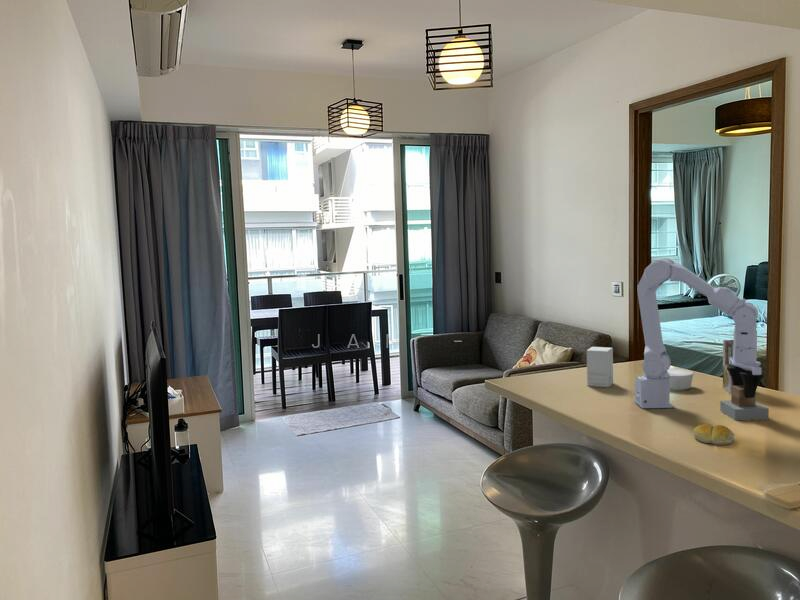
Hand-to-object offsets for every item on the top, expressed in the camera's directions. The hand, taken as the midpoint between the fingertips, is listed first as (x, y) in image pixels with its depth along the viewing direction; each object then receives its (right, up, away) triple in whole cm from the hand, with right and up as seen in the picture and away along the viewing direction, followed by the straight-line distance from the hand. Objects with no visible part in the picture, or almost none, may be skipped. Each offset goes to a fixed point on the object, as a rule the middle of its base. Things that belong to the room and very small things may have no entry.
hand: (744, 394), depth 178 cm
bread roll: (-18, -9, -18) cm, 27 cm away
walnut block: (0, -3, 0) cm, 3 cm away
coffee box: (+12, -3, +26) cm, 29 cm away
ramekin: (-5, -3, +34) cm, 34 cm away
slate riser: (0, -6, +1) cm, 6 cm away
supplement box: (-27, -3, +41) cm, 50 cm away
